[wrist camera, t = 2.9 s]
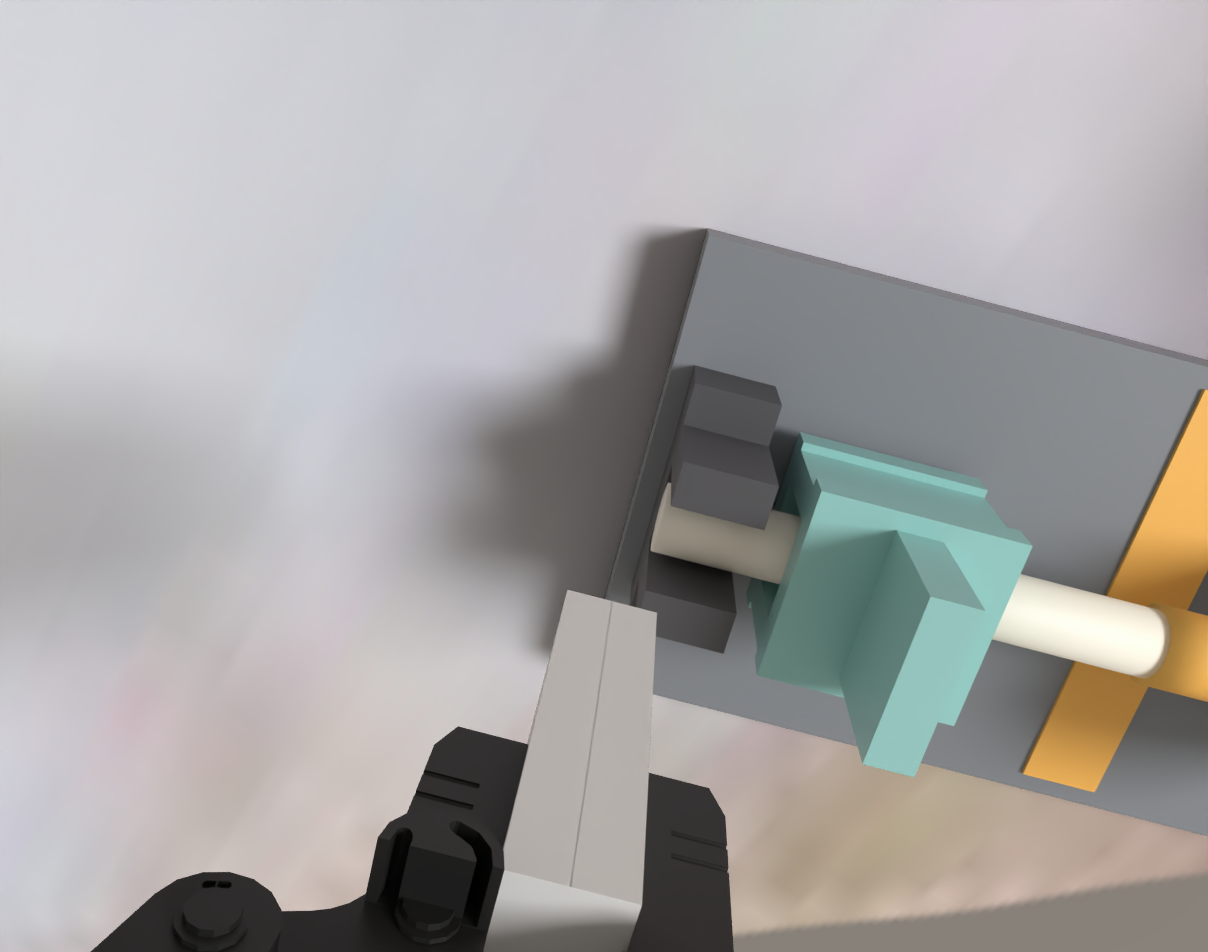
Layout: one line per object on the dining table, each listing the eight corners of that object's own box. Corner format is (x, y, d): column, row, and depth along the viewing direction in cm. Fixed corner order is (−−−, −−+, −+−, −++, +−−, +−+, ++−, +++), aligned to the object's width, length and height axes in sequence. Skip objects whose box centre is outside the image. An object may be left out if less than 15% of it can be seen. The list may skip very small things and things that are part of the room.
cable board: (707, 228, 25) (717, 271, 18) (1495, 436, 25) (1792, 554, 18) (590, 649, 29) (562, 811, 22) (1267, 822, 29) (1441, 1034, 22)
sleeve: (799, 431, 24) (843, 551, 18) (978, 478, 24) (1088, 615, 18) (746, 592, 26) (767, 759, 19) (914, 636, 26) (994, 816, 19)
